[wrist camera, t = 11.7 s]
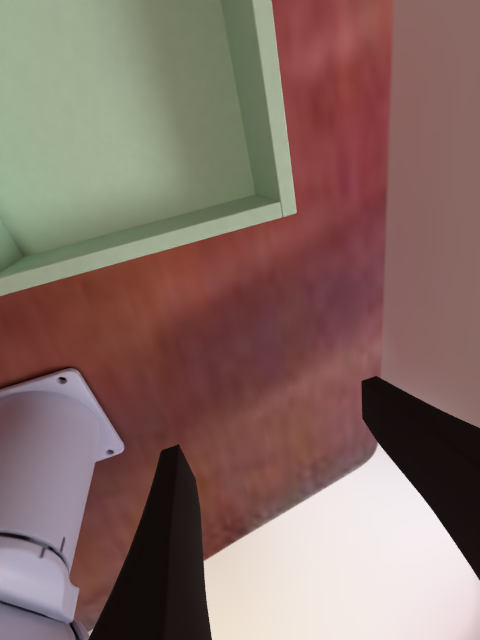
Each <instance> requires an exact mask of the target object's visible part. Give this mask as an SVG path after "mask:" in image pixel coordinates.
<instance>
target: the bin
mask: <svg viewBox="0 0 480 640" xmlns="http://www.w3.org/2000/svg"><path fill="white" fill-rule="evenodd" d="M296 213H297V211H296V202H295V194H294V186H293V177H292V169H291V161H290V152H289V144H288V135H287V127H286V119H285V110H284V102H283V94H282V85H281V77H280V68H279V60H278V52H277V43H276V35H275V27H274V18H273V10H272V1H271V0H0V296H2V295H6V294H9V293H13V292H17V291H20V290H24V289H27V288H31V287H35V286H38V285H42V284H45V283H49V282H52V281H56V280H60V279H63V278H67V277H70V276H74V275H78V274H81V273H85V272H88V271H92V270H95V269H99V268H103V267H106V266H110V265H113V264H117V263H120V262H124V261H128V260H131V259H135V258H138V257H142V256H146V255H149V254H153V253H156V252H160V251H163V250H167V249H171V248H174V247H178V246H181V245H185V244H189V243H192V242H196V241H199V240H203V239H206V238H210V237H214V236H217V235H221V234H224V233H228V232H232V231H235V230H239V229H242V228H246V227H249V226H253V225H257V224H260V223H264V222H267V221H271V220H274V219H278V218H281V217H285V216H289V215H292V214H296Z"/></svg>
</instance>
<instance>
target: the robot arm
mask: <svg viewBox="0 0 480 640" xmlns="http://www.w3.org/2000/svg"><path fill="white" fill-rule="evenodd" d="M59 377H64V378H65V379H66V380H61V379H60V378H59ZM362 418H363V420H364V422H365V423H366V425H367V426H368V428H369V430H370V431H371V433H372V434H373V436H374V437H375V439H376V440H377V442H378V443H379V444H380V445H381V447H382V448H383V449H384V451H385V452H386V453H387V454H388V455H389V457H390V458H391V459H392V460H393V462H394V463H395V464H396V465H397V466H398V468H399V469H400V470H401V471H402V473H403V474H404V475H405V476H406V477H407V479H408V480H409V481H410V482H411V483H412V485H413V486H414V487H415V488H416V490H417V491H418V492H419V493H420V494H421V496H422V497H423V498H424V499H425V501H426V502H427V503H428V505H429V506H430V507H431V509H432V510H433V511H434V513H435V514H436V516H437V517H438V518H439V520H440V522H441V523H442V524H443V526H444V527H445V529H446V530H447V532H448V533H449V534H450V536H451V537H452V539H453V540H454V542H455V543H456V545H457V546H458V548H459V549H460V551H461V552H462V554H463V555H464V557H465V558H466V560H467V561H468V563H469V564H470V566H471V567H472V569H473V571H474V572H475V574H476V575H477V577H478V578H479V580H480V428H478V427H476V426H474V425H471V424H469V423H467V422H465V421H463V420H460V419H458V418H456V417H454V416H452V415H450V414H448V413H446V412H443V411H441V410H439V409H437V408H435V407H433V406H431V405H429V404H427V403H425V402H424V401H422V400H420V399H418V398H416V397H414V396H412V395H410V394H408V393H407V392H405V391H403V390H401V389H399V388H397V387H395V386H393V385H392V384H390V383H388V382H386V381H384V380H382V379H381V378H379V377H377V376H375V377H372V378H369V379H366V380H363V381H362ZM123 450H124V444H123V442H122V440H121V439H120V437H119V436H118V434H117V432H116V431H115V429H114V427H113V426H112V424H111V423H110V421H109V419H108V418H107V416H106V415H105V413H104V411H103V410H102V408H101V406H100V405H99V403H98V402H97V400H96V398H95V397H94V395H93V394H92V392H91V390H90V389H89V387H88V385H87V384H86V382H85V381H84V379H83V377H82V376H81V374H80V373H79V371H78V370H76V369H74V368H67V369H64V370H61V371H58V372H54V373H51V374H48V375H45V376H42V377H38V378H35V379H32V380H29V381H25V382H22V383H19V384H16V385H12V386H9V387H6V388H3V389H0V640H212V638H211V630H210V623H209V617H208V609H207V601H206V592H205V580H204V563H203V546H202V529H201V514H200V504H199V498H198V492H197V486H196V480H195V477H194V475H193V473H192V471H191V469H190V467H189V464H188V462H187V460H186V458H185V456H184V454H183V452H182V450H181V448H180V446H179V445H176V446H173V447H170V448H167V449H164V450H162V451H161V453H160V457H159V461H158V465H157V469H156V472H155V476H154V480H153V483H152V486H151V490H150V493H149V496H148V499H147V502H146V505H145V508H144V511H143V514H142V517H141V520H140V523H139V526H138V528H137V531H136V534H135V536H134V539H133V542H132V544H131V547H130V550H129V552H128V555H127V557H126V559H125V562H124V564H123V567H122V569H121V571H120V574H119V576H118V578H117V581H116V583H115V585H114V587H113V589H112V592H111V594H110V596H109V598H108V600H107V602H106V604H105V606H104V609H103V611H102V613H101V615H100V617H99V619H98V621H97V623H96V625H95V627H94V629H93V631H92V633H91V635H90V637H89V634H88V632H87V630H86V629H85V627H84V626H83V624H82V623H81V622H79V621H78V620H76V619H75V618H74V613H75V608H76V603H77V597H78V592H79V588H78V587H76V586H74V585H73V584H72V583H71V582H70V581H69V575H70V571H71V566H72V562H73V557H74V553H75V549H76V544H77V540H78V536H79V531H80V527H81V522H82V518H83V514H84V509H85V505H86V500H87V496H88V492H89V487H90V483H91V479H92V474H93V470H94V465H95V462H97V461H100V460H103V459H105V458H108V457H111V456H114V455H117V454H120V453H122V452H123Z"/></svg>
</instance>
